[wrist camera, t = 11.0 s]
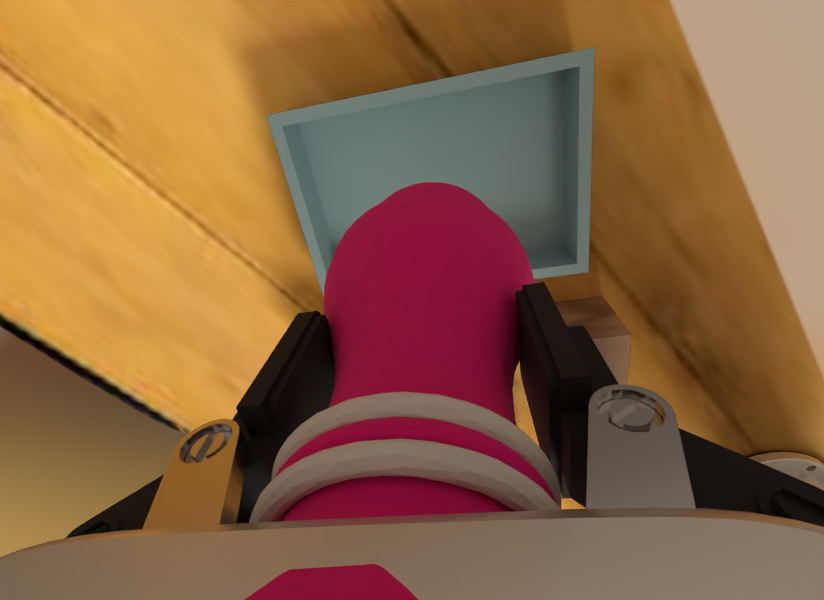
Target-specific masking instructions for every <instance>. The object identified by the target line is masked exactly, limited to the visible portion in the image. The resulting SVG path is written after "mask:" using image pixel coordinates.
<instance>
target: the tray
mask: <svg viewBox="0 0 824 600" xmlns="http://www.w3.org/2000/svg"><path fill="white" fill-rule="evenodd" d="M594 50H595V47H593V48H588V49H584V50H579V51H574V52H569V53H564V54H560V55H555V56H550V57H545V58H540V59H535V60H531V61H526V62H521V63H516V64H511V65H507V66H502V67H497V68H492V69H487V70H482V71H478V72H473V73H468V74H463V75H458V76H454V77H449V78H444V79H439V80H434V81H429V82H425V83H420V84H415V85H410V86H405V87H401V88H396V89H391V90H386V91H381V92H376V93H372V94H367V95H362V96H357V97H352V98H348V99H343V100H338V101H333V102H328V103H323V104H319V105H314V106H309V107H304V108H299V109H295V110H290V111H285V112H280V113H275V114H270V115H266V116H267V120H268V123H269V126H270V129H271V132H272V135H273V139H274V142H275V145H276V148H277V151H278V154H279V158H280V161H281V164H282V167H283V170H284V173H285V177H286V180H287V183H288V186H289V189H290V192H291V195H292V199H293V202H294V205H295V208H296V211H297V214H298V218H299V221H300V224H301V227H302V230H303V233H304V237H305V240H306V243H307V246H308V249H309V252H310V255H311V259H312V262H313V265H314V268H315V271H316V274H317V278H318V281H319V284H320V287H321V290H322V293H323V297H324V285H325V280H326V275H327V271H328V269H329V266H330V264H331V261H332V258H333V256H334V253H335V251H336V248H337V246H338V244H339V242H340V241H341V239H342V237H343V236H344V234H345V232H346V231H347V230H348V229H349V228H350V226H351V225H352V224H353V223H354V222H355V221H356V220H357V219H358V218H359V217H360V216H362V215H363V214H364V213H365V212H367V211H368V210H369V209H371V208H373V207H374V206H376V205H378V204H380V203H381V202H383V201H384V200H385V199H386V198H387V197H389V196H390V195H392V194H393V193H395V192H396V191H398V190H400V189H403V188H405V187H408V186H411V185H413V184H418V183H424V182H439V183H448V184H452V185H455V186H458V187H461V188H463V189H465V190H467V191H469V192H470V193H472V194H473V195H475V196H476V197H477V198H479V199H480V200H481V201H482V202H483V203H485V204H486V206H487V207H488V208H489V209H490V210H492V211H493V212H494V213H496V214H497V215H498V216H499V217H500V218H501V219H503V220H504V221H505V222H506V223H507V224H508V225H509V227H510V228H511V229H512V230H513V231H514V233H515V234H516V235H517V237H518V239H519V240H520V242H521V244H522V246H523V247H524V249H525V251H526V254H527V257H528V260H529V264H530V267H531V270H532V274H533V277H534V279H540V278H548V277H556V276H563V275H571V274H579V273H587V272H589V238H590V200H591V162H592V125H593V87H594Z"/></svg>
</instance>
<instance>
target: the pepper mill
mask: <svg viewBox="0 0 824 600" xmlns="http://www.w3.org/2000/svg"><path fill="white" fill-rule="evenodd" d="M526 284H534V277H533V274H532V270H531V267H530V264H529V260H528V257H527V254H526V251H525V249H524V247H523V246H522V244H521V242H520V240H519V239H518V237H517V235H516V234H515V233H514V231H513V230H512V229H511V228H510V227H509V225H508V224H507V223H506V222H505V221H504V220H503V219H501V218H500V217H499V216H498V215H497V214H496V213H494V212H493V211H492V210H490V209H489V208H488V207H487V206H486V204H485V203H483V202H482V201H481V200H480V199H479V198H477V197H476V196H475V195H473V194H472V193H470V192H469V191H467V190H465V189H463V188H461V187H458V186H455V185H452V184H448V183H439V182H424V183H418V184H413V185H411V186H408V187H405V188H403V189H400V190H398V191H396V192H395V193H393V194H392V195H390V196H389V197H387V198H386V199H385V200H384V201H383V202H381V203H380V204H378V205H376V206H374V207H373V208H371V209H369V210H368V211H367V212H365V213H364V214H363V215H362V216H360V217H359V218H358V219H357V220H356V221H355V222H354V223H353V224H352V225H351V226H350V228H349V229H348V230H347V231H346V232H345V234H344V236H343V237H342V239H341V241H340V242H339V244H338V246H337V248H336V251H335V253H334V256H333V258H332V261H331V264H330V266H329V269H328V271H327V275H326V280H325V285H324V315H325V316H326V317H327V319H328V322H329V325H330V330H331V340H332V349H333V359H334V366H335V387H334V391H333V394H332V398H331V401H330V404H329V408H328V409H326V410H323V411H321V412H319V413H317V414H315V415H314V416H312V417H311V418H310V419H308V420H307V421H305V422H304V423H302V424H301V425H300V426H299V427H298V428H297V429H296V430H295V431H294V432H293V433H292V434H291V435H290V436H289V437H288V438H287V440H286V441H285V443H284V444H283V446H282V447H281V448H280V450H279V453H278V455H277V457H276V459H275V462H274V466H273V470H272V480H271V482H270V483H269V484H268V485H267V487H266V488H265V489H264V490H263V491H262V493H261V494H260V496H259V498H258V500H257V502H256V505H255V507H254V509H253V511H252V514H251V517H250V520H249V523H260V522H280V521H300V520H322V519H344V518H366V517H389V516H413V515H436V514H461V513H487V512H513V511H539V510H561V492H560V486H559V482H558V479H557V475H556V472H555V470H554V468H553V467H552V465H551V463H550V461H549V460H548V458H547V456H546V454H545V453H544V452H543V451H542V450H541V449H540V447H539V446H538V445H537V444H536V443H535V442H534V441H533V440H532V439H531V438H530V437H529V436H528V435H527V434H526V433H525V432H524V431H522V430H521V429H520V428H518V427H517V425H516V422H515V414H514V403H513V392H512V388H513V380H514V373H515V370H516V367H517V365H518V363H519V361H520V354H521V339H520V330H519V320H518V314H517V307H516V295H515V294H516V291H519V290H522V287H523V285H526ZM244 600H418V599H417V598H416V597H415V596H414V595H413V594H412V593H411V592H410V591H409V590H408V589H407V588H406V587H405V586H404V585H403V584H402V583H401V582H400V581H398V580H397V579H396V578H395V577H394V576H393V575H391V574H390V573H389V572H388V571H387V570H386V569H384V568H383V567H381V566H380V565H376V564H365V565H351V566H335V567H319V568H303V569H290V570H288V571H286V572H283V573H282V574H280V575H279V576H277V577H276V578H275V579H273V580H272V581H270V582H269V583H267V584H266V585H264V586H263V587H262V588H260V589H259V590H257V591H256V592H254V593H253V594H252V595H250V596H249V597H247V598H246V599H244Z"/></svg>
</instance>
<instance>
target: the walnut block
mask: <svg viewBox="0 0 824 600" xmlns="http://www.w3.org/2000/svg"><path fill="white" fill-rule="evenodd" d="M555 304H556V306H557V308H558V310H559V312H560V314H561V316H562V318H563V320H564V322H565V324H566V326H576V325H583V326H584V327H585V328H586V330H587V331H588V333H589V335H590V336H591V338H592V340H593V341H594V343H595V345H596V346H597V348H598V350H599V352H600V353H601V355H602V357H603V358H604V360H605V362H606V363H607V365H608V367H609V368H610V370H611V372H612V373H613V375H614V377H615V379H616V380H617V382H618V384H622V385H627V382H628V371H629V360H630V348H631V337H632V334H631V333H630V332H629V331H628V329H627V328H626V327H625V325H624V324H623V323H622V321H621V320H620V319H619V318H618V316H617V315H616V314H615V312H614V311H613V310H612V308H611V307H610V306H609V304H608V303H607V302H606V301H605V299H604V298H603V297H598V298H589V299H581V300H572V301H564V302H555Z"/></svg>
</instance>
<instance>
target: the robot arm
mask: <svg viewBox="0 0 824 600" xmlns="http://www.w3.org/2000/svg"><path fill="white" fill-rule="evenodd" d="M515 295H516V307H517V314H518V320H519V330H520V339H521V354H520V369H521V377H522V382H523V386H524V389H525V393H526V397H527V401H528V405H529V408H530V412H531V416H532V420H533V423H534V427H535V431H536V435H537V438H538V442H539V446H540V449H541V450H542V451H543V452H544V453H545V454H546V456H547V458H548V460H549V461H550V463H551V465H552V467H553V468H554V470H555V472H556V475H557V479H558V482H559V486H560V491H561V495H562V498H572V499H573V500H575V501H576V502H578V503H579V504H581V505H583V506H584V507H585V509H565V510H539V511H513V512H487V513H461V514H436V515H413V516H389V517H366V518H344V519H322V520H300V521H280V522H260V523H249V520H250V517H251V514H252V511H253V509H254V507H255V505H256V502H257V500H258V498H259V496H260V494H261V493H262V491H263V490H264V489H265V488H266V487H267V485H268V484H269V483H270V482H271V480H272V470H273V466H274V462H275V459H276V457H277V455H278V453H279V450H280V448H281V447H282V446H283V444H284V443H285V441H286V440H287V438H288V437H289V436H290V435H291V434H292V433H293V432H294V431H295V430H296V429H297V428H298V427H299V426H300V425H301V424H302V423H304V422H305V421H307V420H308V419H310V418H311V417H312V416H314V415H315V414H317V413H319V412H321V411H323V410H326V409H328V408H329V404H330V401H331V398H332V394H333V391H334V387H335V366H334V359H333V349H332V340H331V330H330V325H329V322H328V319H327V317H326V316H325V315H321V314H320V313H319V312H318V311H313V312H305V313H298V314H297V316H296V317H295V319H294V320H293V322H292V323H291V325H290V326H289V328H288V329H287V331H286V332H285V334H284V335H283V337H282V338H281V340H280V341H279V343H278V344H277V346H276V348H275V349H274V351H273V352H272V354H271V355H270V357H269V358H268V360H267V361H266V363H265V364H264V366H263V367H262V369H261V370H260V372H259V373H258V375H257V376H256V378H255V380H254V381H253V383H252V384H251V386H250V387H249V389H248V390H247V392H246V393H245V395H244V396H243V398H242V399H241V401H240V402H239V404H238V405H237V407H236V409H237V411H238V412H237V413H236V415H235V417H234V418H233V420H231V419H219V420H214V421H211V422H208V423H206V424H203V425H201V426H200V427H198V428H196V429H194V430H193V431H192V432H190V433H189V434H188V435H187V436H185V437H184V438H183V439H182V440H181V442H180V443H179V444H178V445H177V446H176V448H175V450H174V452H173V454H172V456H171V459H170V461H169V463H168V466H167V469H166V471H165V473H164V475H162V476H161V477H159V478H157V479H156V480H154V481H152V482H151V483H149V484H147V485H146V486H144V487H143V488H141V489H139V490H138V491H136V492H134V493H133V494H131V495H129V496H128V497H126V498H124V499H123V500H121V501H119V502H118V503H116V504H114V505H113V506H111V507H109V508H108V509H106V510H105V511H103V512H101V513H100V514H98V515H96V516H95V517H93V518H91V519H90V520H88V521H86V522H85V523H84V524H82V525H80V526H79V527H77V528H76V529H74V530H73V531H72V532H71V533H70V534H69V535H68V536H67V537H66V538H65V539H59V540H54V541H49V542H46V543H42V544H39V545H35V546H32V547H28V548H24V549H21V550H18V551H15V552H13V553H10V554H7V555H5V556H3V557H0V600H244V599H246V598H247V597H249V596H250V595H252V594H253V593H254V592H256V591H257V590H259V589H260V588H262V587H263V586H264V585H266V584H267V583H269V582H270V581H272V580H273V579H275V578H276V577H277V576H279V575H280V574H282V573H283V572H286V571H288V570H290V569H303V568H319V567H335V566H351V565H365V564H376V565H380V566H381V567H383V568H384V569H386V570H387V571H388V572H389V573H390V574H391V575H393V576H394V577H395V578H396V579H397V580H398V581H400V582H401V583H402V584H403V585H404V586H405V587H406V588H407V589H408V590H409V591H410V592H411V593H412V594H413V595H414V596H415V597H416V598H417V599H418V600H824V463H822V462H821V461H820V460H818V459H816V458H814V457H811V456H809V455H805V454H800V453H792V452H773V453H765V454H759V455H755V456H752V457H745V456H743V455H741V454H738V453H736V452H734V451H731V450H729V449H727V448H724V447H722V446H719V445H717V444H715V443H712V442H710V441H708V440H705V439H703V438H701V437H698V436H696V435H693V434H691V433H689V432H686V431H684V430H682V429H679V428H678V424H677V420H676V415H675V413H674V411H673V409H672V407H671V405H670V404H669V403H668V402H667V401H666V400H665V399H664V398H662V397H661V396H659V395H658V394H656V393H654V392H653V391H650V390H647V389H645V388H642V387H638V386H633V385H622V384H618V382H617V380H616V379H615V377H614V375H613V373H612V372H611V370H610V368H609V367H608V365H607V363H606V362H605V360H604V358H603V357H602V355H601V353H600V352H599V350H598V348H597V346H596V345H595V343H594V341H593V340H592V338H591V336H590V335H589V333H588V331H587V330H586V328H585V327H584V326H583V325H576V326H566V324H565V322H564V320H563V318H562V316H561V314H560V312H559V310H558V308H557V306H556V304H555V302H554V300H553V298H552V297H551V295H550V293H549V291H548V289H547V287H546V285H545V283H544V282H542V283H534V284H526V285H523V287H522V290H519V291H516V294H515Z"/></svg>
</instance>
